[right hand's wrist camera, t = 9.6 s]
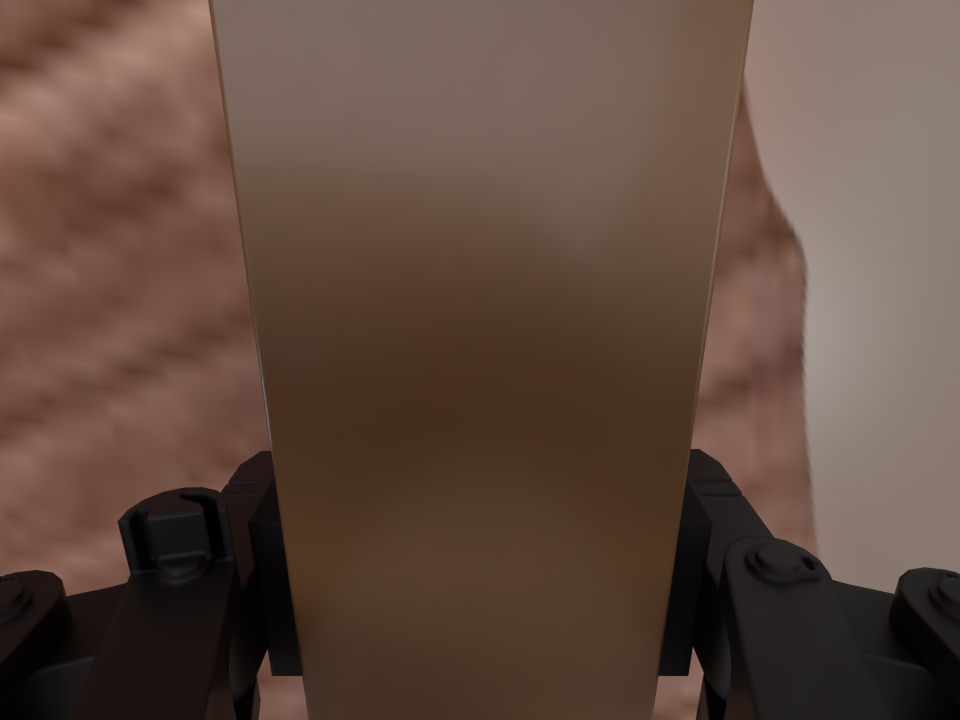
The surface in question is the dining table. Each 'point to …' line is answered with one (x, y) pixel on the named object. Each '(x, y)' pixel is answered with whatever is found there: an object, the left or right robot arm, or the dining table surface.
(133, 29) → the dining table surface
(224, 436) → the dining table surface
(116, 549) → the dining table surface
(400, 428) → the bar
